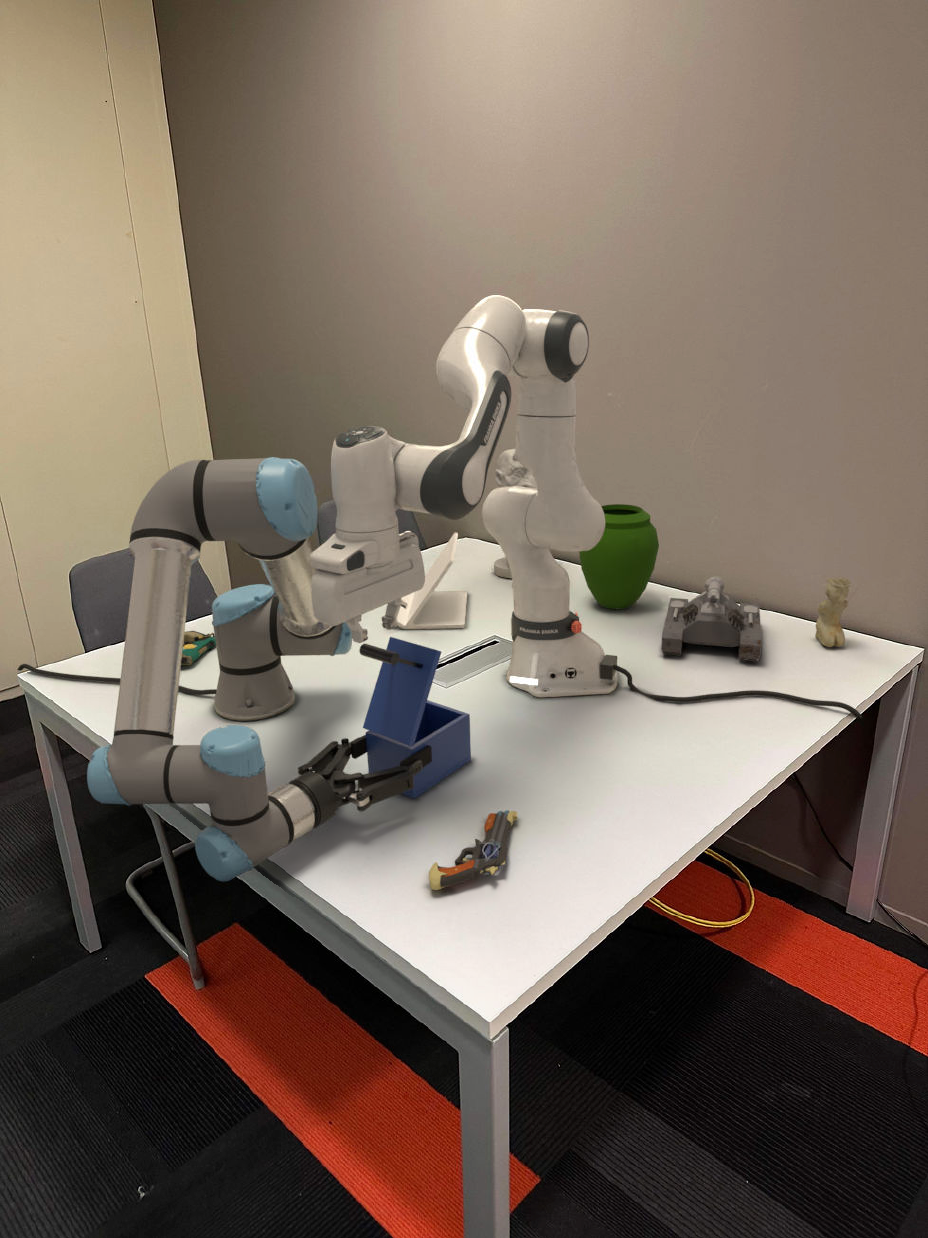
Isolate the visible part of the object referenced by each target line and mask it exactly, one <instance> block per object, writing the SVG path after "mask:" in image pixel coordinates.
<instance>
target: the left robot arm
mask: <svg viewBox="0 0 928 1238" xmlns="http://www.w3.org/2000/svg"><path fill="white" fill-rule="evenodd" d="M317 500H318V498H317V494H316V493H315V484H314V481H313V478H312V477H311V474H310V472H309V470H308V469H307V467H306V466H305V465H304V464H303V463H302V462H300V461H299V460H297V459H294V458H280V457H277V456H271V457H259V458H234V459H233V458H231V459H207V460H206V459H193V460H189V461H185V462H182V463H179V464H177V465H176V466H174V467H172V468H171V469H170V470H168V471H167V472H165V473H164V474H163V475H162V476H161V477H160V478H159V479H158V480H156V482H154V483H153V485H152V486H151V488H150V489H149V490H148V492H147V493H146V495H145V496H144V498H143V499H142V501H141V503H140V505H139V507H138V508H137V511H136V514H135V516H134V519H133V522H132V525H131V529H130V535H129V543H128V550H129V552H130V553H131V555H132V556H133V557H134V564H133V573H132V580H131V581H132V582H131V590H130V599H129V606H128V615H127V622H126V631H125V638H124V647H123V654H122V655H123V656H122V663H121V671H120V677H109V676H108V677H107V676H106V677H105V676H96V675H95V676H94V675H93V676H92V675H81V674H73V673H72V674H71V673H63V672H57V671H49V670H45V669H40V668H36V667H34V666H32V665H31V664H29V663H28V664H27V663H22V664H20V665H19V666H18V667H17V671H18V672H19V671H23V670H24V669H26V670H28V671H30V672H31V673H34V674H38V675H42V676H47V677H52V678H53V677H54V678H61V679H67V680H75V681H76V680H78V681H87V682H88V681H89V682H100V683H114V684H115V683H118V684H119V688H118V696H117V705H116V711H115V719H114V720H115V721H114V729H113V737H112V743H111V744H108V745H103V746H100V747H98V748H96V749H95V750H94V751H93V753H92V754H91V761H89V762H88V765H87V771H86V780H87V788H88V790H89V793H90V795H91V796H92V798H93V799H94V800H95V801H97V802H99V803H100V804H108V805H109V804H111V805H112V804H113V805H126V806H130V807H131V806H133V805H156V804H157V805H161V804H162V805H164V804H165V805H169V804H170V805H171V804H173V805H174V804H175V805H177V804H178V805H184V804H185V805H191V804H192V805H194V804H195V805H200V804H201V805H202V804H203V805H205V804H207V805H208V807H209V812H210V818H211V819H210V820H211V824H209V825H208V826H205V828H204V829H203V830H202V831H199V832H198V833H197V835H196V840H195V842H194V850H195V853H196V856H197V859H198V861H199V863H200V865H201V867H202V868H203V870H205V872H206V873H207V874H208V875H209V876H210V877H211V878H214V879H215V880H216V881H219V882H229V881H231V880H233V879H235V878H237V877H239V876H241V875H242V874H245V873H246V872H249V871H252V870H253V869H254V868H255V867H256V866H259V864H261V863H262V862H264V861H265V860H267V859H269V858H270V857H272V855H274V854H276V853H277V852H279V851H280V850H282V849H284V848H286V847H287V846H289V845H290V844H291V843H293V842H294V841H296V840H298V839H299V838H301V837H302V836H304V835H306V834H308V833H309V832H311V831H312V830H314V829H316V828H318V827H319V826H321V825H323V824H324V823H326V822H327V821H329V820H330V819H332V818H333V817H334V815H336V812H337V811H338V809H339V808H340V807H342V806H345V805H349V804H354V805H355V806H356V809H357V811H359V812H363V811H365V810H367V809H368V808H370V807H371V806H372V805H375V804H377V803H380V802H382V801H385V800H387V799H390V798H392V797H395V796H397V795H400V794H402V793H403V792H405V791H408V790H410V789H412V788H414V775H415V774H417V773H418V772H420V771H421V770H422V768H423V767H425V766H426V765H428V764H429V763H431V762H432V749H431V746H429V745H427V746H426V747H424V748H423V749H421V750H419V751H418V752H416V753H414V754H413V755H411V756H409V757H408V758H406V759H404V760H403V761H401V762H400V766H398V767H394V768H390V769H385V770H381V771H376V772H372V773H369V772H368V773H362V772H355V773H347V772H344V770H345V768H346V766H347V765H348V762H349V761H350V759H351V758H352V759H353V760H356V759H358V758H360V757H362V756H364V755H365V754H367V745H366V734H363V735H362V736H359V737H356V738H355V739H353V740H351V741H350V740H349V738H347V737H345V738H342V739H341V740H340V741H341V742H340V743H339V741H338V740H333V741H331V742H330V743H328V744H327V745H326V746H325V747H324V748H322V750H320V752H318V753H317V754H316V755H315V756H313V758H311V759H310V760H309V761H308V762H307V763H305V764H302V765H300V766H299V767H297V776H298V777H296V778H293V779H292V780H290V781H289V782H288V783H285V784H282V785H280V786H279V787H277V788H275V789H273V790H271V791H270V792H268V784H267V783H268V782H267V773H266V760H265V756H264V754H263V749H262V743H261V738H260V736H259V734H258V733H257V732H256V730H254V729H253V728H251V727H249V726H246V725H241V724H230V725H227V726H225V727H220V726H219V727H216V728H214V729H211V730H210V731H208V732H207V733H206V734H204V735H203V737H202V738H201V740H200V744H189V745H188V744H185V745H184V744H174V739H175V738H174V737H175V736H174V734H175V725H176V724H175V723H176V715H177V707H178V705H177V704H178V696H179V691H180V692H183V693H185V694H186V693H187V694H190V695H197V696H205V695H206V696H207V695H214V709H215V712H216V713H217V714H218V715H219V716H220V717H222V718H224V719H227V720H231V721H239V722H240V721H242V722H245V721H246V722H248V721H259V720H265V719H269V718H272V717H274V716H278V715H279V714H281V713H284V712H285V711H287V710H288V709H290V708H291V707H292V706H293V704H294V703H295V701H296V696H295V690H294V686H293V684H292V682H291V680H290V678H289V675H288V673H287V672H286V670H285V668H284V665H283V663H282V657H287V656H290V657H291V656H292V657H294V656H295V657H296V656H298V657H299V656H330V657H334V656H340V655H346V654H348V653H350V651H351V650H352V647H353V639H352V630H351V629H350V628H349V627H348V625H347V624H346V623H345V622H343V623H341V624H338V625H336V626H331V625H327V624H324V623H321V622H319V621H318V620H317V619H316V618H315V617H314V614H313V607H312V595H311V580H312V576H313V574H314V572H315V571H316V570H317V568H314V567H312V566H311V564H310V555H311V553H312V552H314V550H313V546H312V545H311V542H310V539H309V537H312V536H313V535H314V533H315V531H316V529H317V524H318V518H319V517H318V512H319V509H318V501H317ZM205 542H236V543H237V544H238V545H237V546H239V548H240V549H241V551H243V553H244V554H246V555H247V556H248V557H250V558H253V559H255V560H257V562H258V563H259V565H260V567H261V569H262V570H263V573H264V574H265V576H266V578H267V580H268V582H269V584H265V583H258V584H250V585H249V584H248V585H244V586H240V587H237V588H233V589H230V590H227V591H225V592H224V593H221V594H220V595H218V596H217V597H216V598H215V599H214V600H213V602H212V604H211V615H212V622H211V625H212V627H213V633H214V636H215V641H216V645H215V646H216V652H217V660H218V667H219V675H218V678H217V679H218V680H217V685H216V688H214V689H213V688H212V689H210V688H209V689H194V688H189V687H185V686H182V685H180V677H181V670H182V669H181V667H182V664H181V659H182V650H183V641H184V632H186V631H185V629H186V621H187V612H188V603H189V593H190V592H189V591H190V585H191V584H190V583H191V574H192V565H193V564H194V563H196V562H197V561H198V560H200V557H201V548H202V545H203V543H205ZM356 782H357V783H356ZM356 784H357V786H356Z"/></svg>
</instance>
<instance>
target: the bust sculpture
mask: <svg viewBox="0 0 928 1238" xmlns="http://www.w3.org/2000/svg"><path fill="white" fill-rule="evenodd" d="M494 480H495V482H496V484H497V486H498V487H510V486H522V487H530V488H537V486H536V482H535V480H534V478H533V476H532V474H531V472H530V471H529V470H528V469H527V468H526V467H524V466H523V465H522V464H521V463H520V462H519V460H518V459H517V456H516V453H515V448H512V449H506V450H504V451H502V452H501V454H500V455H499V457H498V459H497V461H496V468H495V471H494ZM493 573H494V574H495V575H496V576H497V577H500V578H506V579H512V575H511V571H510V567H509V564H508V561H507V559H506V557H505V556H504V557H502V558H498V559H496V560H495V561H494V562H493Z"/></svg>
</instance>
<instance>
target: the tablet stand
mask: <svg viewBox="0 0 928 1238" xmlns="http://www.w3.org/2000/svg"><path fill="white" fill-rule="evenodd" d="M458 537H459V533H458V532H456V531H455V532H453V534H452V535H451V537H450V539H449V540H448V542H447V543H446V544H445V546H444V548H443V549H442V551H441V552H440V554H439V555H438V556H437V558H436V559H435V561H434V562H433V564H432V565H431V567H430V568H429V569H428V571H427V573H425V583H424V586H423V588H422V589H421V590H418V591H416V592H414V593H411V594H409V595H407V596H404V597H402V598H401V602H402V604H401V607H400V610H399V612H398V615H397V626H398V627H399V628H401V629H402V630H426V629H427V630H429V629H430V630H431V629H435V630H436V629H437V630H438V629H464V628H465V627H466V618H467V617H466V616H467V605H468V591H467V590H436V589H437V587H438V585H440V582H441V581H442V580H443V578H444V577H445V575H446V574H447V573H448V571H449V570H450V569H451V567H452V566H453V564H454V562H455V558H456V553H457V545H458ZM402 605H403V606H405V607H403V606H402ZM397 626H396V627H397Z"/></svg>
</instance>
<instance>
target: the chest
mask: <svg viewBox="0 0 928 1238" xmlns="http://www.w3.org/2000/svg"><path fill="white" fill-rule="evenodd" d="M365 735H366V745H367V753H366V755H367V756H366V757H367V770H368V773H372V772H376V771H381V770H385V769H390V768H394V767H398V766H400V762H401V761H403V760H404V759H406V758H408V757H409V756H411V755H413V754H414V753H416V752H418V751H419V750H421V749H423V748H424V747H426V746H427V745H429V746H431V749H432V762H431V763H429V764H428V765H426V766H425V767H423V768H422V770H421V771H420V772H418V773H417V774H415V775H414V788H412V789H410V790H408V791H405V792H403V793H401V795H404V796H406V797H409V798H411V799H416V798H418V797H420V795H422V794H423V793H425V792H427V791H428V790H429V789H431V788H432V787H433V786H435V785H437V784H438V783H440V782H441V781H443V780H445V778H447V777H449V776H450V775H451V774H453V773H454V772H456V771H457V770H459V769H460V768H462V767H463V766H465V765H467V764H468V763H469V762H471V761H472V749H471V748H472V747H471V744H472V743H471V715H470V713H467V712H465V711H461V710H459V709H456V708H453V707H450V706H447V705H443V704H441V703H438V702H434V701H432V700H429V699H427V702H426V706H425V709H424V712H423V716H422V719H421V722H420V726H419V729H418V732H417V736H416V739H415V742H414V746H409V745H406V744H403V743H401V742H398V741H396V740H393V739H390V738H388V737H385V736H382V735H380V734H377V733H375V732H372V731H369V730H367V731H365Z"/></svg>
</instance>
